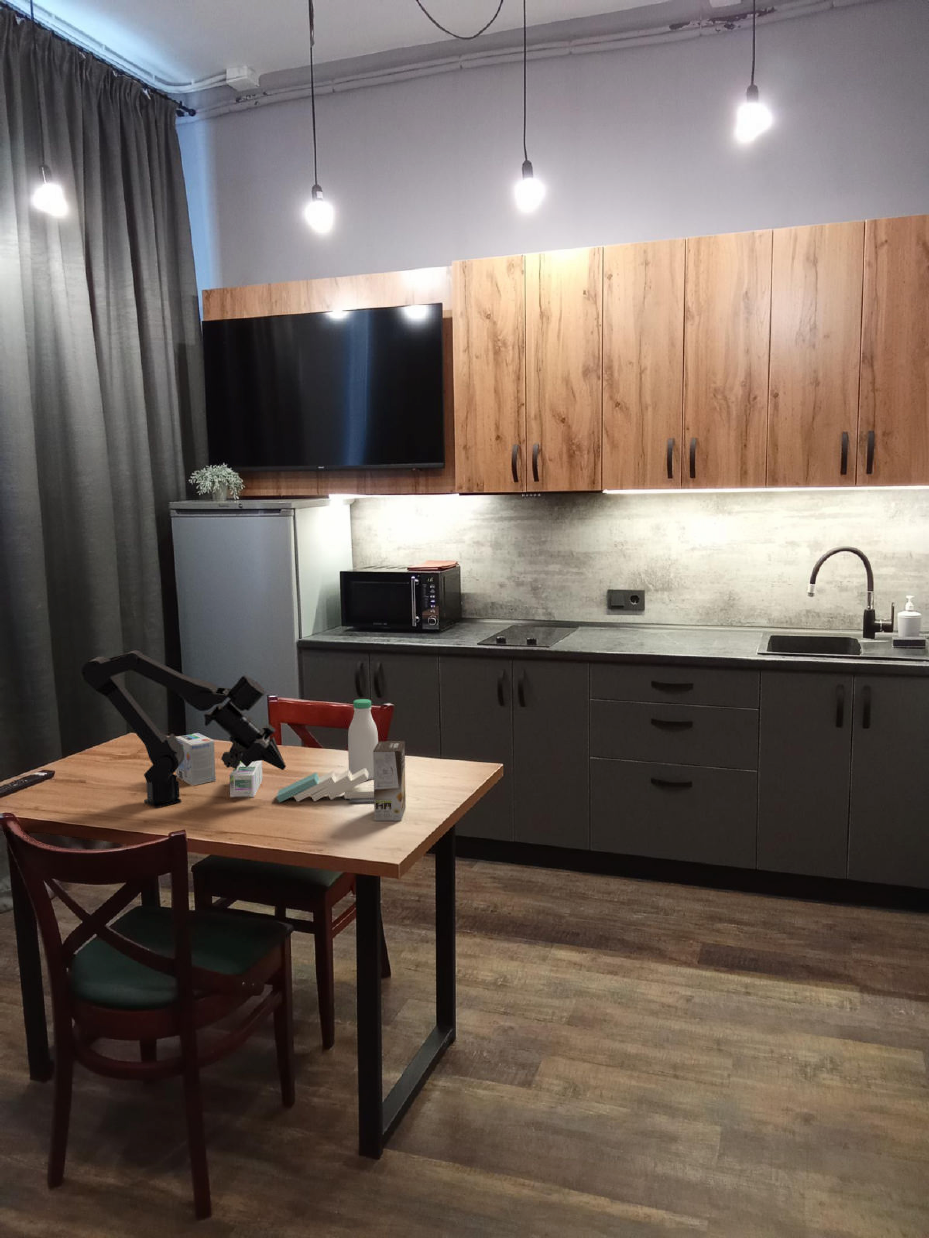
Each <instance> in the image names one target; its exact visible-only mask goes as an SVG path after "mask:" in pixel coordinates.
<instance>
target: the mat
mask: <svg viewBox="0 0 929 1238" xmlns="http://www.w3.org/2000/svg"><path fill="white" fill-rule="evenodd" d="M354 804H355V805H356V804H361V805H362V804H374V798H349V805H354Z"/></svg>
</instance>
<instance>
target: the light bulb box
mask: <svg viewBox="0 0 929 1238" xmlns="http://www.w3.org/2000/svg"><path fill="white" fill-rule="evenodd" d="M175 737H176V739H177V741H178V742H179V743H180V744H182V745H183V747H182V749H183V751H184V754H185V755H184V760H183V762H182V763H181V765H180V766H179V767H178V768H177V769H176V771H175V775H177V779H180V780H182V781H183V780H184V781H183V782H185V783H186V784H188V785H190V784H191V785H193V786H196V785H195V784H198V785H201V784H202V783H204V784H207V782H209V783H212V782H211V781H214V782H216V779H217V778H216V777H217V776H216V756H215V755H216V753H215V751H216V750H215V740H214V739H212V738H210V737H207V736H205V735H203V734H201V733H199V732H195V733H192V734H191V733H190V734H186V735H179V736H175ZM191 785H190V786H191ZM202 785H203V784H202Z"/></svg>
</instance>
